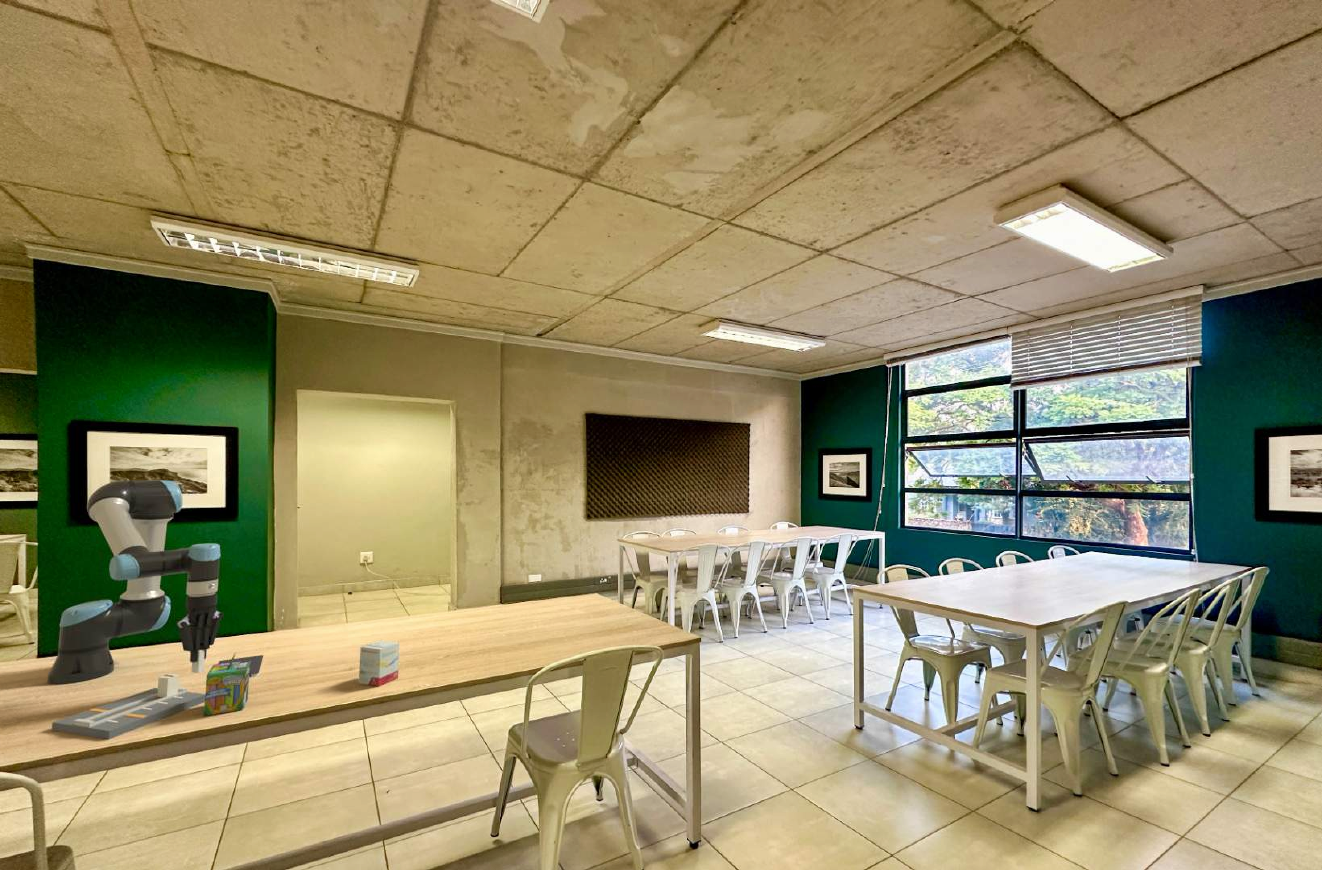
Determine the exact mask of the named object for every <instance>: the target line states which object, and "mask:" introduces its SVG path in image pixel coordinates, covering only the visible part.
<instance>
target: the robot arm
mask: <svg viewBox="0 0 1322 870" xmlns="http://www.w3.org/2000/svg"><path fill="white" fill-rule="evenodd" d="M182 506H183V494H182V491H181V488H180V486H179V484H178V483H177V482H176V481H173V480H165V479H164V480H163V479H153V480H151V479H150V480H149V479H148V480H147V479H146V480H143V479H142V480H116V481H111V482H108V483H106V484H104V485H102V486H100V487H99V488H97V489H96V490H95V491H94V492H93V493H92V494H91V495H90V497H89V498H88V500H87V504H86V510H87V513H88V516H89V517H90V519H91V520H93V521H94V522H96V523H98V525H99V527H100V530H101V532H102V534H103V536H104V538H105V539H106V542H107V544H108V546H109V548H110V551H111V552H112V553H113V557H112V558H111V559H110V563H109V565H108V566H109V569H108V570H109V576H110V578H111V579H112V580H114V581H124V580H125V581H127V583H126V584H127V585H126V591H124V592H123V593H122V594H120V596H119V601H118V602H113V601H112V600H111V599H100V600H93V601H87V602H83V603H80V604H77V605H73V606H71V607H69V608H66V609H64V611H62V613H61V618H60V623H59V636H58V637H59V638H58V650H57V657H56V659H55V660H54V662H53V664H52V666H51V668H50V671H49V673H47V674H48V675H47V683H50V684H56V685H57V684H58V685H59V684H61V685H62V684H71V683H79V682H84V681H88V680H89V681H90V680H92V679H97V678H101V677H104V676H107V675H108V674H110V673H112V672H113V671H115V670H114V669H115V662H114V659H113V656H112V654H111V650H110V648H109V642H110V639H114V638H115V639H116V638H121V637H124V636H125V637H126V636H130V635H136V634H141V633H143V634H145V633H148V632H151V631H156V630H159V629H161V628H162V627H163V626H165V624H166V623H167V621H168V619H169V616H170V613H171V599H170V597H169V596H167V595H165V591H164V590H162V589H161V587H160V586H161V580H162V576H169V575H177V574H185V573H186V574H187V581H186V593H185V594H186V595H187V596H186V598H185V609H186V613H185V614H184V617H183V618H182V619H181V620H179V621H176V623H175V625H176V627H177V628H178V630H179V636H180V640H181V641H180V642H181V645H182V650H183V651H184V652H190V654H189V655H190V656H189V662H190V663H191V671H190V672H191V673H196V674H199V673H203V672H204V667H205V664H204V663H205V660H206V659H207V651H208V650H209V649H210V648H211V646H214V644H215V640H216V639H217V638H216V637H217V634H218V629H219V627H220V623H221V620H222V618H223V617H224V614H225V613H224V611H223V612H220V611H218V610H217V608H216V606H217V604H218V594H217V592H218V591H219V590H218V589H219V588H218V587H219V573H220V559H221V546H220V544H218V543H212V542H211V543H210V542H209V543H197V544H192V545H191V546H190V547H181V548H179V549H172V550H171V549H170V550H165V544H166V535H167V528H168V527H167V526H168V523H169V522H170V521H171V520H172V519H174V515H175V514H176V513H179V512H180V511H181V509H182ZM174 513H175V514H174Z"/></svg>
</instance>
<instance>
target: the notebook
mask: <svg viewBox="0 0 1322 870" xmlns="http://www.w3.org/2000/svg"><path fill="white" fill-rule="evenodd" d="M263 658H264V655H262V654H260V655H252V656H245V657H237V658H234V660H233V662H242V661H251V663H250V675H249V678H252V677H258V676H259V675H260V670H261V668H262V662H263ZM231 660H232V658H231V659H223V660H219V661H218V662H217V664H224V663H230V662H231Z"/></svg>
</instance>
